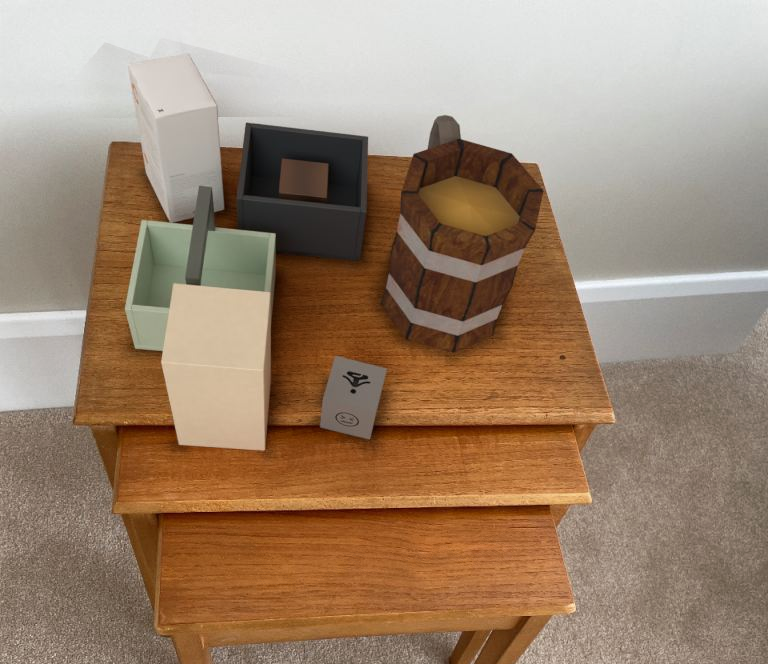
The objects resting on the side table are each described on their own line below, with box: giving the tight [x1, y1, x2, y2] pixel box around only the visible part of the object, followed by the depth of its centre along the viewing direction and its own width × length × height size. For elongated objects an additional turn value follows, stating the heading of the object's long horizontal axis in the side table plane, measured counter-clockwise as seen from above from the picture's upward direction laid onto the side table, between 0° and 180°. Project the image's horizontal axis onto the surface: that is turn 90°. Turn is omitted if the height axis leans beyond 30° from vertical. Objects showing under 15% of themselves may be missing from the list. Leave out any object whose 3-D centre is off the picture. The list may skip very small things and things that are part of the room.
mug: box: [380, 114, 544, 353], centre depth 79 cm, size 20×14×15 cm
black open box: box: [236, 122, 369, 262], centre depth 84 cm, size 13×11×7 cm
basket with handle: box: [124, 186, 277, 352], centre depth 75 cm, size 13×11×11 cm
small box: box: [127, 53, 225, 223], centre depth 80 cm, size 8×6×13 cm
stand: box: [160, 283, 272, 452], centre depth 69 cm, size 8×8×13 cm
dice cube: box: [319, 355, 388, 440], centre depth 75 cm, size 5×5×5 cm
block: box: [279, 158, 329, 204], centre depth 84 cm, size 5×5×5 cm
